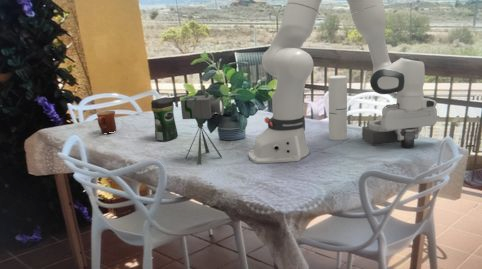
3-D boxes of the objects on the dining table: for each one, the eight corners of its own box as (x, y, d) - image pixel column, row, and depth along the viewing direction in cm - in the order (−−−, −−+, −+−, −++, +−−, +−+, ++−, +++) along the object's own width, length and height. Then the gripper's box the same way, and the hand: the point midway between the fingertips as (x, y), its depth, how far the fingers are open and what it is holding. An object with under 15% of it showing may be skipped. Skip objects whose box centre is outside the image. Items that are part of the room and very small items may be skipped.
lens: (405, 148, 147) (406, 130, 145) (398, 145, 151) (399, 127, 149) (416, 147, 147) (417, 128, 145) (409, 143, 152) (410, 125, 150)
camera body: (373, 145, 153) (373, 128, 151) (361, 138, 162) (361, 121, 160) (402, 142, 154) (403, 124, 152) (389, 135, 164) (390, 118, 162)
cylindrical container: (347, 140, 162) (347, 77, 155) (329, 140, 163) (328, 78, 156) (346, 134, 168) (346, 75, 161) (328, 135, 170) (328, 75, 163)
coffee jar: (169, 134, 188) (164, 95, 182) (180, 137, 182) (176, 96, 177) (152, 140, 181) (147, 99, 176) (163, 142, 176) (158, 101, 170)
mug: (105, 130, 204) (101, 110, 201) (121, 130, 203) (118, 110, 200) (93, 137, 193) (89, 116, 190) (110, 137, 191) (106, 116, 188)
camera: (180, 165, 146) (171, 98, 139) (190, 151, 161) (184, 90, 154) (222, 165, 144) (216, 96, 137) (229, 151, 159) (224, 88, 152)
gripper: (387, 107, 140) (385, 144, 144) (441, 101, 143) (438, 138, 147) (378, 103, 146) (377, 139, 150) (430, 98, 149) (427, 134, 153)
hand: (407, 139), depth 148 cm, fingers closed on lens, 4 cm apart
